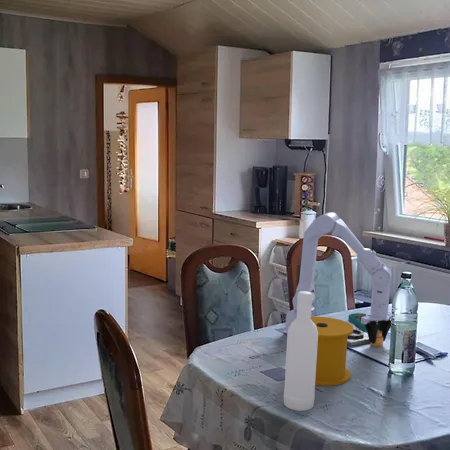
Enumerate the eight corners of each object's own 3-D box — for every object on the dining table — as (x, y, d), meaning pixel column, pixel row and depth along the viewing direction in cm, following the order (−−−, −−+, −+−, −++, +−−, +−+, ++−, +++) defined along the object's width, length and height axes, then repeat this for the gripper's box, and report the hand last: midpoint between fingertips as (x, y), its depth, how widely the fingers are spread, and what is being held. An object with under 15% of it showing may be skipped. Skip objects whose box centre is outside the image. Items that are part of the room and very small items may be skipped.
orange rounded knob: (376, 348, 208) (377, 333, 207) (368, 344, 211) (369, 330, 211) (385, 346, 210) (386, 332, 209) (376, 343, 214) (377, 328, 213)
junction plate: (350, 346, 209) (351, 339, 208) (326, 336, 219) (327, 329, 218) (376, 341, 215) (377, 334, 215) (352, 331, 225) (352, 324, 225)
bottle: (277, 403, 163) (282, 291, 158) (296, 395, 168) (302, 287, 164) (301, 414, 157) (308, 298, 153) (320, 405, 163) (327, 293, 158)
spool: (352, 367, 191) (355, 319, 188) (347, 389, 173) (351, 337, 171) (293, 359, 195) (296, 312, 193) (283, 380, 178) (286, 330, 176)
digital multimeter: (364, 319, 242) (365, 312, 241) (382, 331, 227) (383, 323, 227) (347, 320, 240) (347, 313, 240) (364, 332, 226) (364, 324, 225)
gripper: (373, 308, 201) (370, 348, 203) (404, 302, 209) (401, 341, 211) (357, 302, 207) (354, 341, 209) (388, 297, 215) (385, 335, 217)
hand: (376, 341), depth 211 cm, fingers closed on orange rounded knob, 4 cm apart
